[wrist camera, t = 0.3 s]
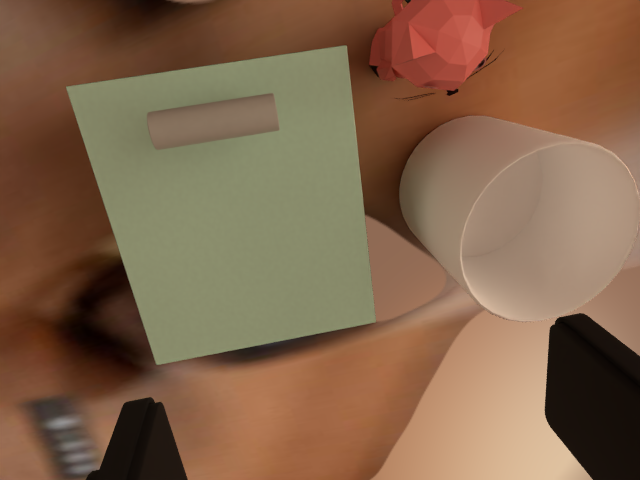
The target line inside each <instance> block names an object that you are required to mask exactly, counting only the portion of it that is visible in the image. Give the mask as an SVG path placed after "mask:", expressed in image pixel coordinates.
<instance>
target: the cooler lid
mask: <svg viewBox="0 0 640 480" xmlns="http://www.w3.org/2000/svg"><path fill="white" fill-rule="evenodd" d="M66 89H67V92H68V95H69V98H70V101H71V104H72V107H73V111H74V114H75V117H76V120H77V123H78V126H79V129H80V132H81V135H82V138H83V141H84V144H85V147H86V150H87V153H88V157H89V160H90V163H91V166H92V169H93V172H94V175H95V178H96V181H97V184H98V187H99V190H100V193H101V196H102V199H103V202H104V206H105V209H106V212H107V215H108V218H109V221H110V224H111V227H112V230H113V233H114V236H115V239H116V242H117V245H118V248H119V252H120V255H121V258H122V261H123V264H124V267H125V270H126V273H127V276H128V279H129V282H130V285H131V288H132V291H133V294H134V298H135V301H136V304H137V307H138V310H139V313H140V316H141V319H142V322H143V325H144V328H145V331H146V334H147V337H148V340H149V343H150V347H151V350H152V353H153V356H154V359H155V362H156V365H160V364H165V363H170V362H175V361H180V360H185V359H190V358H196V357H201V356H206V355H211V354H216V353H221V352H226V351H231V350H236V349H241V348H247V347H252V346H257V345H262V344H267V343H272V342H277V341H282V340H287V339H293V338H298V337H303V336H308V335H313V334H318V333H323V332H328V331H333V330H338V329H344V328H349V327H354V326H359V325H364V324H369V323H374V322H376V317H375V308H374V299H373V289H372V279H371V270H370V261H369V251H368V242H367V232H366V223H365V213H364V204H363V194H362V185H361V175H360V166H359V156H358V147H357V137H356V128H355V119H354V109H353V100H352V90H351V81H350V71H349V62H348V52H347V46H346V45H343V46H337V47H330V48H323V49H316V50H309V51H303V52H296V53H289V54H282V55H276V56H269V57H262V58H255V59H249V60H242V61H235V62H228V63H222V64H215V65H208V66H201V67H195V68H188V69H181V70H174V71H168V72H161V73H154V74H147V75H141V76H134V77H127V78H120V79H114V80H107V81H100V82H93V83H86V84H80V85H73V86H67V87H66Z"/></svg>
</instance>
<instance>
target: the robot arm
mask: <svg viewBox="0 0 640 480" xmlns="http://www.w3.org/2000/svg"><path fill="white" fill-rule="evenodd" d="M546 383H547V384H546V399H545V415H546V419H547V422H548V424H549V425H550V427H551V428H552V429H553V431H554V432H555V433H556V434H557V436H558V437H559V438H560V439H561V441H562V442H563V443H564V444H565V445H566V447H567V448H568V449H569V451H570V452H571V453H572V454H573V456H574V457H575V458H576V459H577V460H578V462H579V463H580V464H581V465H582V467H583V468H584V469H585V470H586V472H587V473H588V474H589V475H590V477H591V478H592V479H593V480H640V356H639V355H637V354H636V353H635V352H634V351H632V350H631V349H630V348H628V347H627V346H626V345H625V344H623V343H622V342H621V341H619V340H618V339H617V338H615V337H614V336H613V335H611V334H610V333H609V332H608V331H606V330H605V329H604V328H602V327H601V326H600V325H599V324H597V323H596V322H595V321H593V320H592V319H591V318H590V317H588V316H587V315H585V314H581V313H579V314H574V315H570V316H564V317H559V318H558V319H557V320H556V321H555V325H552V326H551V327H550V333H549V349H548V366H547V382H546ZM86 480H188V479H187V476H186V473H185V470H184V467H183V464H182V461H181V458H180V455H179V452H178V449H177V446H176V442H175V439H174V436H173V433H172V430H171V427H170V424H169V421H168V418H167V415H166V412H165V409H164V406H163V404H162V403H161V402H158V403H155V402H154V400H153V399H152V398H151V397H149V398H144V399H139V400H134V401H129V402H126V403H124V405H123V407H122V410H121V412H120V415H119V418H118V420H117V423H116V426H115V429H114V431H113V434H112V437H111V440H110V442H109V445H108V448H107V450H106V453H105V456H104V459H103V461H102V464H101V467H100V469H99V470H96V471H92V472H91V473H90V474H89V475H88V477H87V479H86Z"/></svg>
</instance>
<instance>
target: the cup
mask: <svg viewBox="0 0 640 480" xmlns="http://www.w3.org/2000/svg"><path fill="white" fill-rule="evenodd" d="M399 200H400V207H401V211H402V215H403V218H404V220H405V222H406V224H407V226H408V227H409V229H410V230H411V232H412V233H413V234H414V235H415V236H416V237H417V239H418V240H419V241H420V242H421V243H422V244H423V245H424V246H425V247H426V249H427V250H428V251H429V252H430V253H431V254H432V255H433V256H434V257H435V258H436V259H437V261H438V262H439V263H440V264H441V265H442V266H443V267H444V268H445V269H446V270H447V271H448V273H449V274H450V275H451V276H452V277H453V278H454V279H455V280H456V281H457V282H458V283H459V285H460V286H461V287H462V288H463V289H464V290H465V291H466V292H467V293H468V294H469V295H470V297H471V298H472V299H473V300H474V301H475V302H476V303H477V304H478V305H479V306H481V307H482V308H483V309H485V310H486V311H488V312H489V313H491V314H493V315H495V316H498V317H501V318H503V319H506V320H512V321H519V322H532V321H543V320H547V319H550V318H555V317H559V316H562V315H564V314H566V313H569V312H571V311H573V310H575V309H578V308H579V307H581V306H582V305H584V304H585V303H587V302H588V301H590V300H591V299H593V298H594V297H595V296H596V295H598V294H599V293H600V292H601V291H602V290H603V289H604V288H605V287H607V286H608V284H609V283H610V282H611V281H612V280H613V279H614V277H615V276H616V275H617V274H618V273H619V271H620V270H621V268H622V267H623V265H624V263H625V262H626V260H627V258H628V256H629V255H630V253H631V250H632V248H633V245H634V242H635V240H636V237H637V233H638V227H639V222H640V197H639V193H638V190H637V186H636V182H635V180H634V178H633V176H632V174H631V172H630V171H629V169H628V167H627V165H626V164H625V163H623V162H622V161H621V160H620V159H619V158H618V157H617V156H616V155H615V154H614V153H613V152H611V151H609V150H607V149H606V148H604V147H602V146H600V145H598V144H594V143H590V142H586V141H583V140H579V139H575V138H571V137H567V136H563V135H559V134H555V133H552V132H548V131H544V130H540V129H536V128H532V127H528V126H524V125H521V124H517V123H513V122H509V121H505V120H501V119H497V118H493V117H489V116H466V117H462V118H457V119H454V120H451V121H449V122H447V123H445V124H443V125H440V126H439V127H438V128H436V129H435V130H433V131H432V132H431V133H429V134H428V135H427V136H426V137H425V138H424V139H423V140H422V141H421V142H420V143H419V144H418V145H417V146H416V148H415V149H414V151H413V152H412V154H411V155H410V157H409V159H408V160H407V163H406V165H405V168H404V170H403V173H402V177H401V182H400V187H399Z"/></svg>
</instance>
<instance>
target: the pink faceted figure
mask: <svg viewBox="0 0 640 480" xmlns="http://www.w3.org/2000/svg"><path fill="white" fill-rule="evenodd" d="M405 1H406V2H407V3H408V4H407V5H406V6H405V7H404V9H403V6H402V2H403V0H393V1H392V6H393V9H394V13H395V16H394V17H393V18H392V19H391V20H390V21H389V22H388V23H387V24H386V25H385V26H384V27H383V28H378V30H377V32H376V34H375V36H374V38H373V41H372V45H371V53H370V61H369V66H370V67H371V68H372V69H373V71H374V72H375V73H376V75H377V76H378V77H379V78H380V80H388V81H394V80H396V77H399V78H406V79H408V80H409V81H410V82H411V83H413V84H414V85H415V86H416V87H423V88H432V89H441V90H447V92H448V93H447V95H449V96H450V95H452V94H455V93H457V92H458V89H456V88H458V87H459V86H460V85H461V84H462V83H463V82H464V81H465V80H466V79H468V78H469V77H468V76H469V75H470V74H471V73H472V72H473V71H477V70H479V69H480V68H481V67H482V66H483V65H484V64H485V62H486V61H487V60H488V58H489V57H490V55H491V54H492V53H491V54H490V55H489V57H488V58H487V59H486V58H485V57H486V55H487V54H488V48H489V39H490V33H491V31H492V28H493V26H494V24H495V23H497V22H499V21H501V20H503V19H504V18H506V17H508V16H510V15H512V14H513V13H515V12H517V11H519V10H521V9H523V8H522V7H520V6H517V5H514V4H512V3H509V2H507V1H504V0H405ZM504 50H505V49H504ZM493 51H494V50H493ZM496 59H497V58H496ZM496 59H495V60H496ZM495 60H494V61H495ZM492 62H493V61H492ZM492 62H491V63H492ZM489 64H490V63H489ZM489 64H488V65H489ZM486 66H487V65H486ZM486 66H485V67H486ZM483 68H484V67H483ZM483 68H482V69H483ZM480 70H481V69H480ZM480 70H479V71H480ZM477 72H478V71H477ZM477 72H476V73H477ZM474 74H475V73H474ZM474 74H473V75H474ZM471 76H472V75H471ZM471 76H470V77H471ZM430 94H431V95H432V93H430ZM434 94H436V93H434ZM425 95H427V94H425ZM420 96H422V95H420ZM427 96H428V95H427ZM415 97H417V96H415ZM423 97H424V96H423ZM409 98H412V97H409ZM419 98H420V97H419ZM396 99H398V98H396ZM404 99H407V98H404ZM415 99H416V98H415ZM411 100H412V99H411ZM408 101H409V100H408Z"/></svg>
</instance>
